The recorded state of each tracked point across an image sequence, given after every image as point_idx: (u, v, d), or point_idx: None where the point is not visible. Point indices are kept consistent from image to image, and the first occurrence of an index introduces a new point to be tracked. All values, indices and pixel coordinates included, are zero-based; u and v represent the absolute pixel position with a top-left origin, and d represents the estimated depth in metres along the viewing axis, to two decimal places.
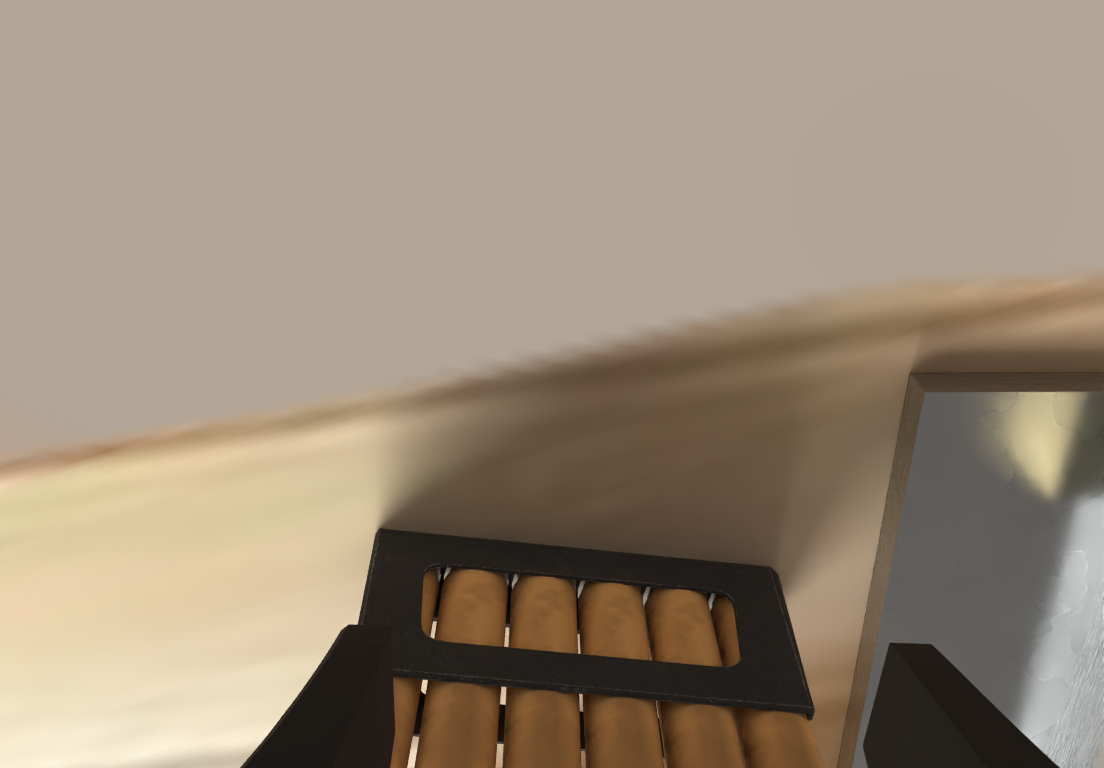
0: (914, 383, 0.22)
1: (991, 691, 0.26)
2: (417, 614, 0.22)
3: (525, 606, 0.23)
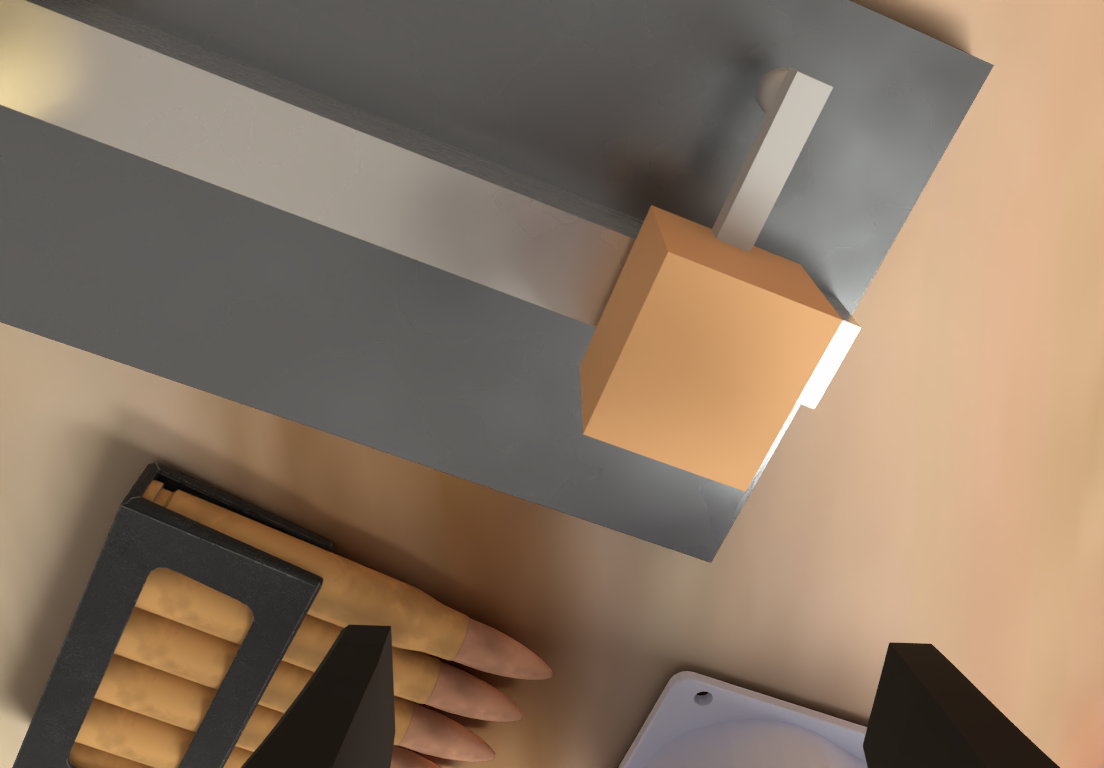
0: None
1: (251, 265, 0.21)
2: None
3: (130, 709, 0.25)
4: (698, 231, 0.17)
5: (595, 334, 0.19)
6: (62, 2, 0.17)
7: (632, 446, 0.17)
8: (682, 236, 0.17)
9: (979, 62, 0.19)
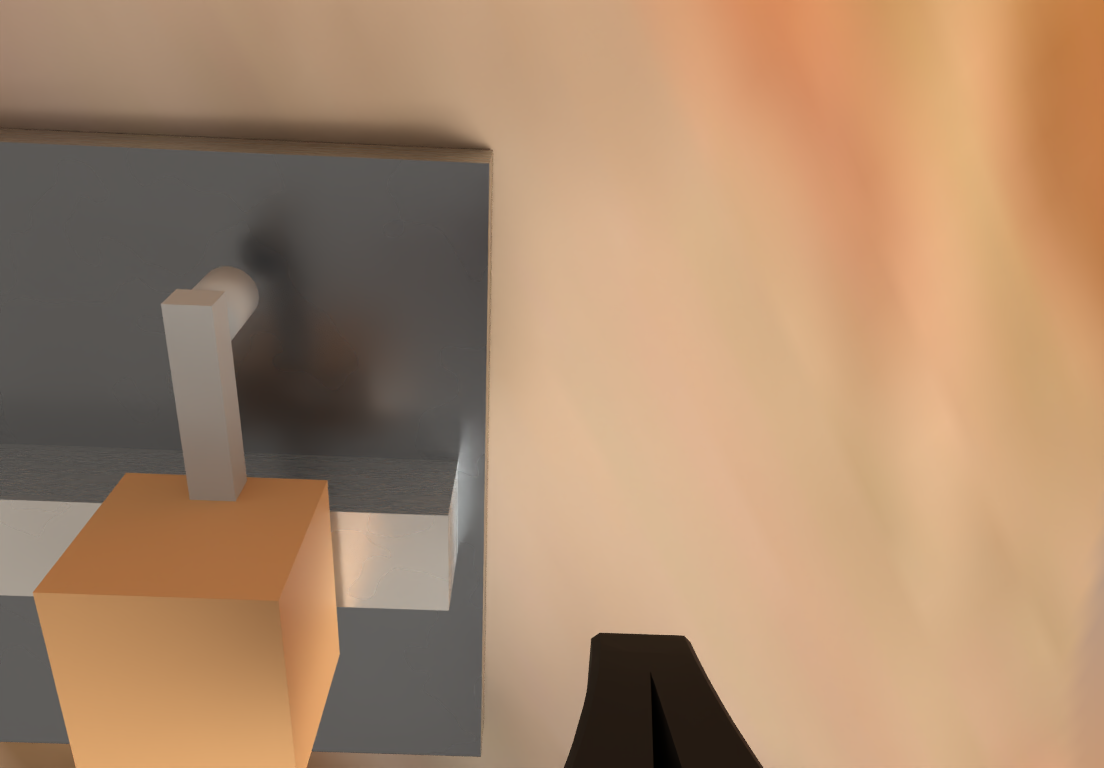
0: None
1: None
2: None
3: None
4: (165, 498, 0.14)
5: None
6: None
7: None
8: (115, 528, 0.14)
9: (471, 166, 0.15)
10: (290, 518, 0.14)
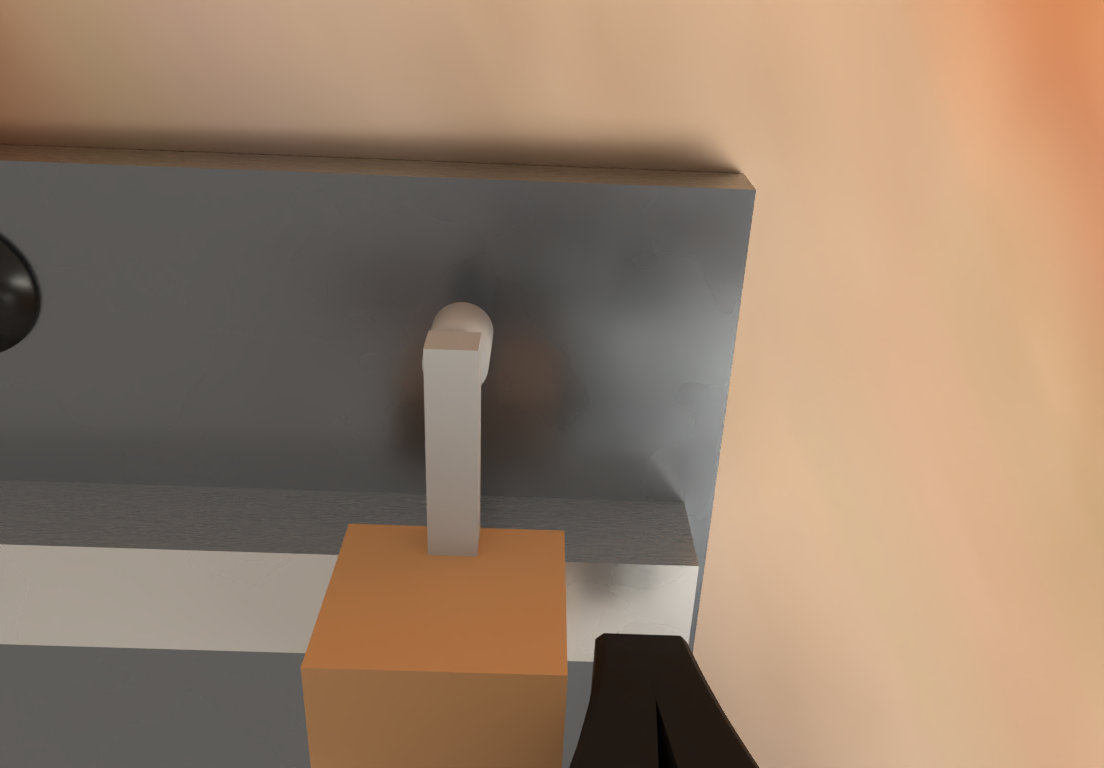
0: None
1: (16, 662, 0.18)
2: None
3: None
4: (402, 553, 0.13)
5: None
6: None
7: None
8: (361, 590, 0.13)
9: (736, 193, 0.14)
10: (542, 576, 0.13)
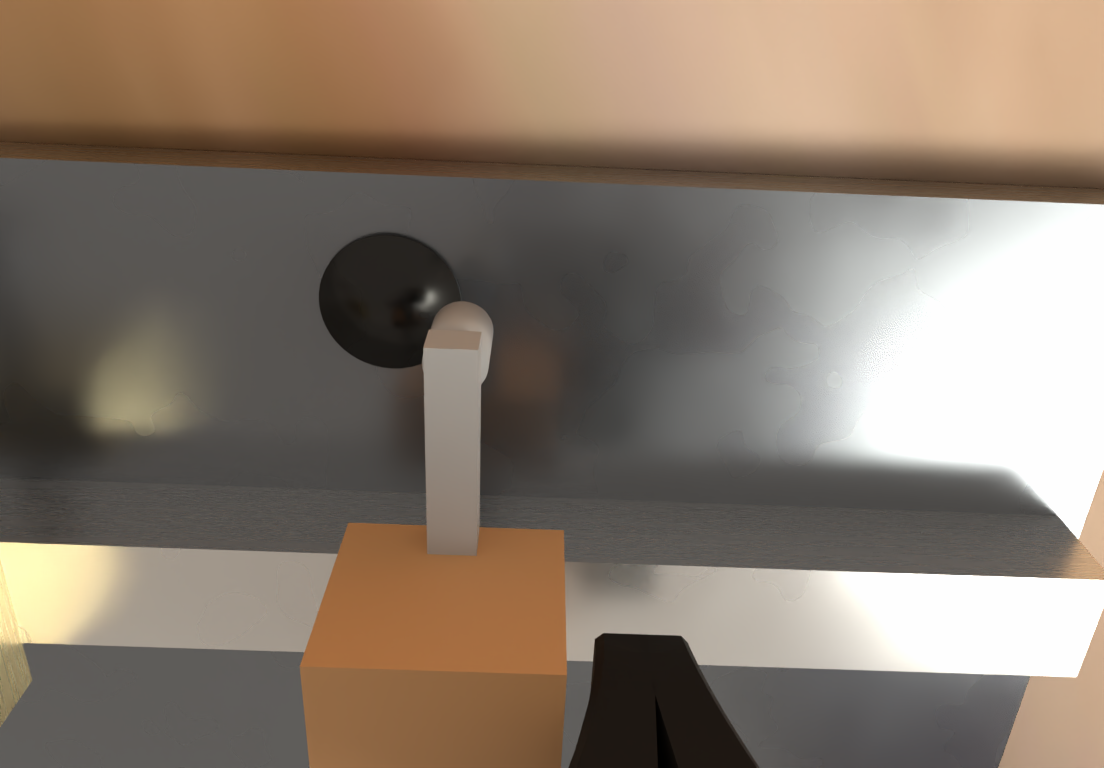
0: None
1: None
2: None
3: None
4: (401, 552, 0.13)
5: None
6: (71, 511, 0.15)
7: None
8: (360, 589, 0.13)
9: None
10: (542, 575, 0.13)
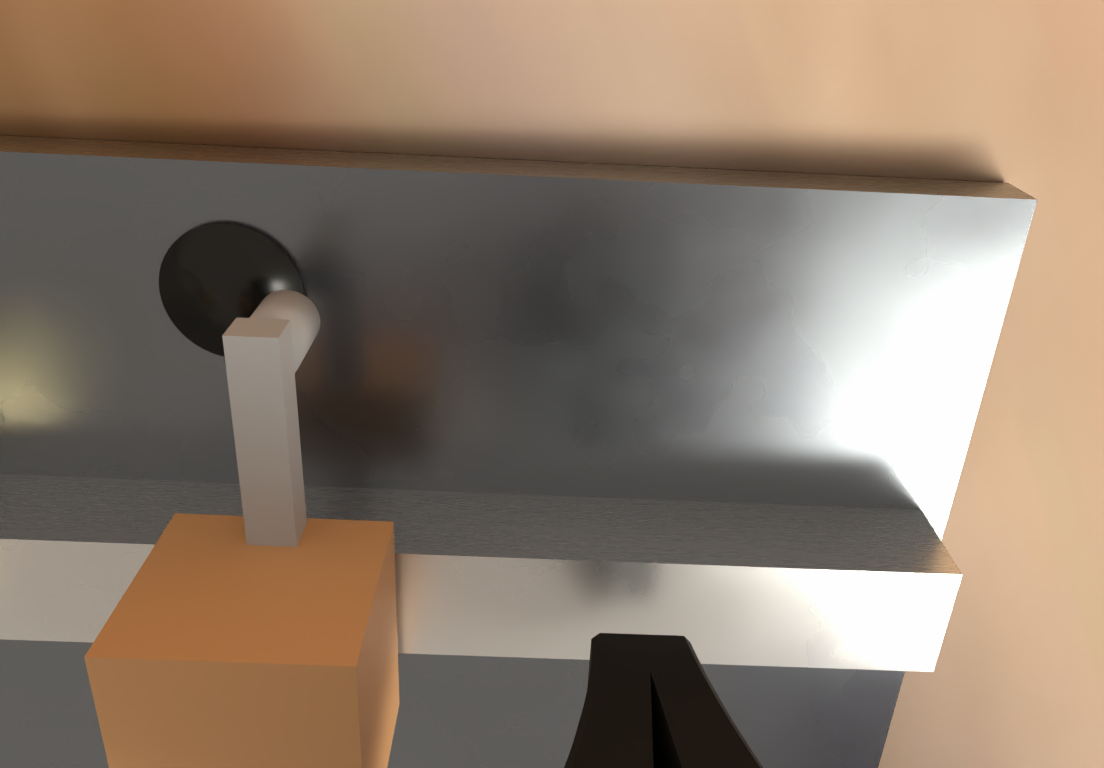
0: None
1: None
2: None
3: None
4: (220, 543, 0.13)
5: None
6: None
7: None
8: (168, 579, 0.12)
9: (1017, 202, 0.14)
10: (358, 567, 0.13)
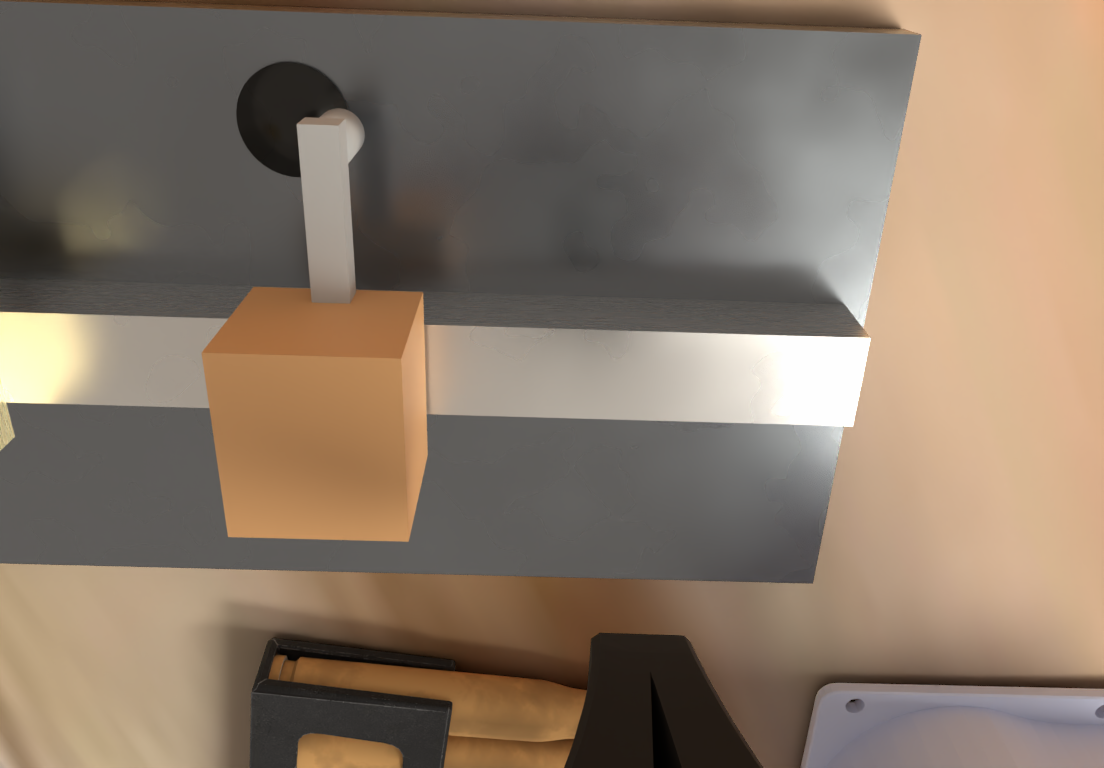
0: None
1: None
2: None
3: None
4: (291, 301, 0.17)
5: None
6: (43, 296, 0.19)
7: (279, 534, 0.17)
8: (255, 318, 0.16)
9: (905, 37, 0.18)
10: (398, 313, 0.17)
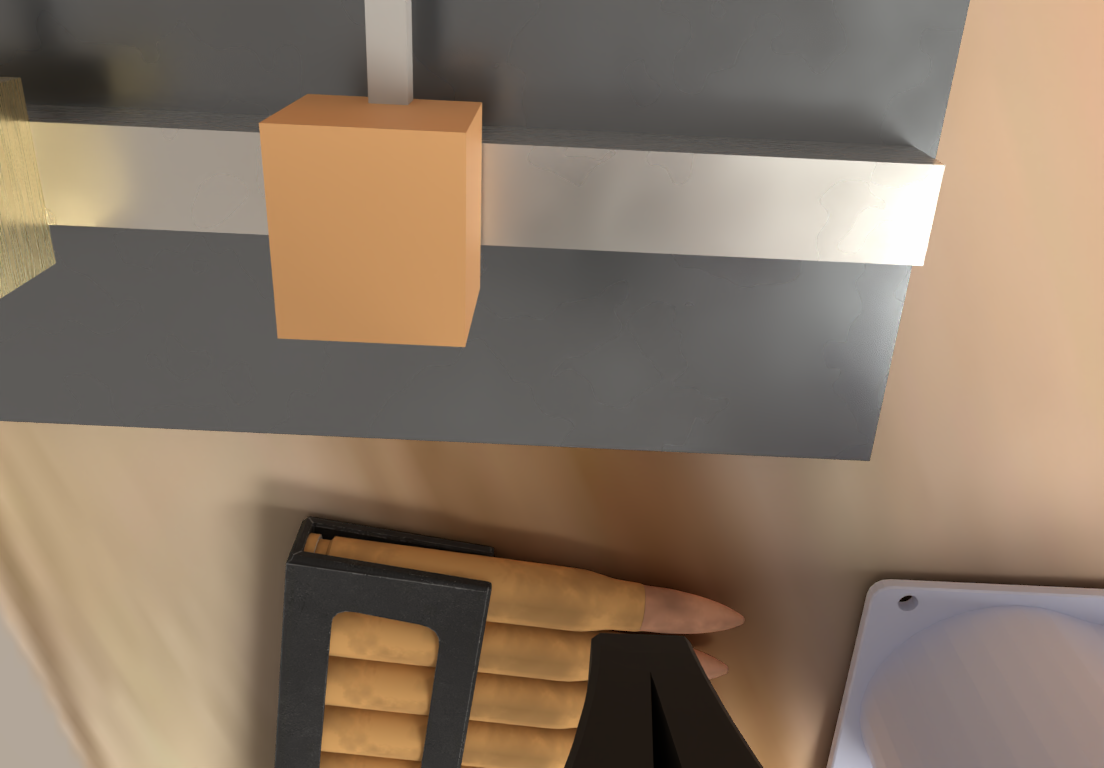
0: None
1: None
2: None
3: (357, 753, 0.26)
4: (347, 101, 0.17)
5: None
6: (90, 115, 0.19)
7: (330, 335, 0.16)
8: (312, 109, 0.16)
9: None
10: (458, 111, 0.16)
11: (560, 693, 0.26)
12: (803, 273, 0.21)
